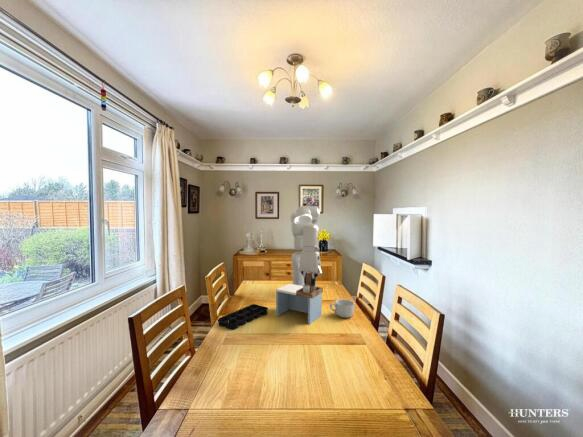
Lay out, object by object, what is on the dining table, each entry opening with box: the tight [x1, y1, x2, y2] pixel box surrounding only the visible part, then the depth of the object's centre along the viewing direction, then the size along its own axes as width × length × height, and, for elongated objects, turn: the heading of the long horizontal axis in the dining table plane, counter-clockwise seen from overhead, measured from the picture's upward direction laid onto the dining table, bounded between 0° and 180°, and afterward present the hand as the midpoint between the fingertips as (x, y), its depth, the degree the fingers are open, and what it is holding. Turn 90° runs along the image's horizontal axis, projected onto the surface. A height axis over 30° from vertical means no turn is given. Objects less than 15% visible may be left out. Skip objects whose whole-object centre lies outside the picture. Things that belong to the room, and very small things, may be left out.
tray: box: [296, 272, 324, 299], centre depth 134 cm, size 12×9×10 cm
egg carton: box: [217, 303, 269, 331], centre depth 147 cm, size 18×30×4 cm, turn 157°
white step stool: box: [275, 283, 323, 325], centre depth 152 cm, size 14×22×15 cm, turn 58°
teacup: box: [329, 298, 355, 319], centre depth 152 cm, size 14×11×8 cm
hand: (309, 285), depth 134 cm, fingers closed on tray, 3 cm apart
